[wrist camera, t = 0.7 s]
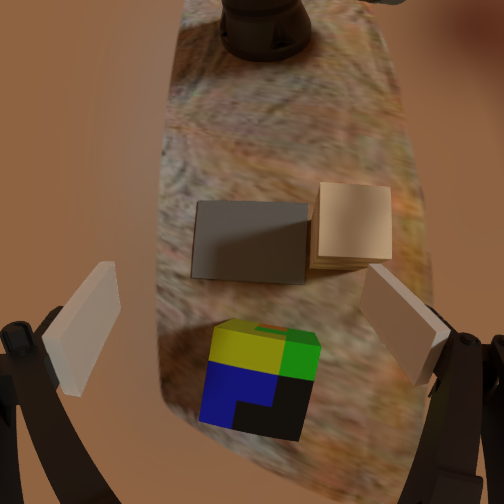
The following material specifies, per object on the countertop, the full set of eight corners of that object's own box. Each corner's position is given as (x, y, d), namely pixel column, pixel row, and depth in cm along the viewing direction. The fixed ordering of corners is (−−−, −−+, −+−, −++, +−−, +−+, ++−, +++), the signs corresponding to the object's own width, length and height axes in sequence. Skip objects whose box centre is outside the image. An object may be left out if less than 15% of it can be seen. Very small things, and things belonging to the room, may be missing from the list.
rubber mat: (307, 204, 39) (307, 203, 39) (304, 284, 38) (304, 284, 38) (199, 201, 41) (198, 200, 41) (192, 277, 40) (191, 277, 39)
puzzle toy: (220, 392, 38) (198, 421, 28) (234, 318, 39) (214, 326, 29) (298, 407, 36) (298, 441, 26) (314, 332, 37) (321, 346, 27)
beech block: (358, 222, 38) (390, 187, 24) (357, 270, 37) (391, 259, 23) (311, 219, 39) (320, 182, 25) (309, 268, 38) (318, 255, 24)
